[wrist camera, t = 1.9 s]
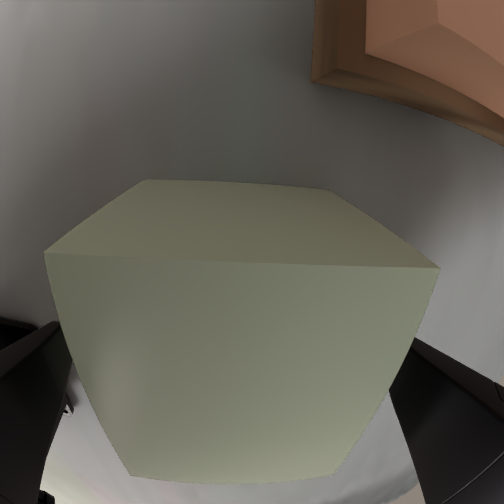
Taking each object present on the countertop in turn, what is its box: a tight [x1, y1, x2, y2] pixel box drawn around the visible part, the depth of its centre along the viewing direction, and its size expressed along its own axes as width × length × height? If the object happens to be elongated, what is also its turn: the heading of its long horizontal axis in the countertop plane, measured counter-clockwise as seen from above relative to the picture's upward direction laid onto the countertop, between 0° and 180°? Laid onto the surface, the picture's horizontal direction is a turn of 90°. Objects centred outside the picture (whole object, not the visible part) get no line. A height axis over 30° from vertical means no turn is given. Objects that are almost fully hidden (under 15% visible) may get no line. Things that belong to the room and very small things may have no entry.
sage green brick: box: [43, 180, 440, 484], centre depth 8 cm, size 6×7×6 cm
